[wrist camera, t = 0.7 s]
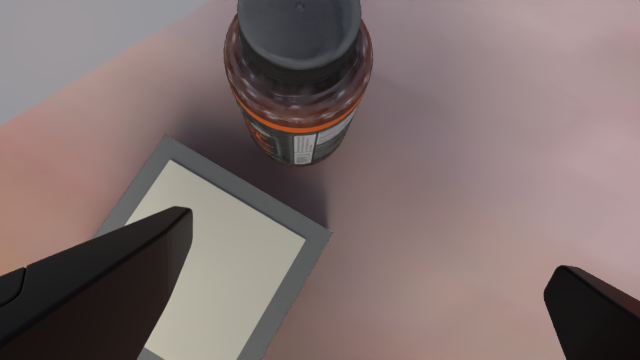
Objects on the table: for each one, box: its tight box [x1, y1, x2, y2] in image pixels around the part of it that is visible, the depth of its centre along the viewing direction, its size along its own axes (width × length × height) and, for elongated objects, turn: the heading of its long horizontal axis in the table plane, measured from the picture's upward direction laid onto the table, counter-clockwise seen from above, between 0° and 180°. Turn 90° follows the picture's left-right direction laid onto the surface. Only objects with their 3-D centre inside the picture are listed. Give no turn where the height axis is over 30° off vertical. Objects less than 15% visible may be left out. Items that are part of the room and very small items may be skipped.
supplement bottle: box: [224, 0, 373, 166], centre depth 17 cm, size 6×6×11 cm
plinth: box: [93, 134, 333, 360], centre depth 19 cm, size 10×10×3 cm
